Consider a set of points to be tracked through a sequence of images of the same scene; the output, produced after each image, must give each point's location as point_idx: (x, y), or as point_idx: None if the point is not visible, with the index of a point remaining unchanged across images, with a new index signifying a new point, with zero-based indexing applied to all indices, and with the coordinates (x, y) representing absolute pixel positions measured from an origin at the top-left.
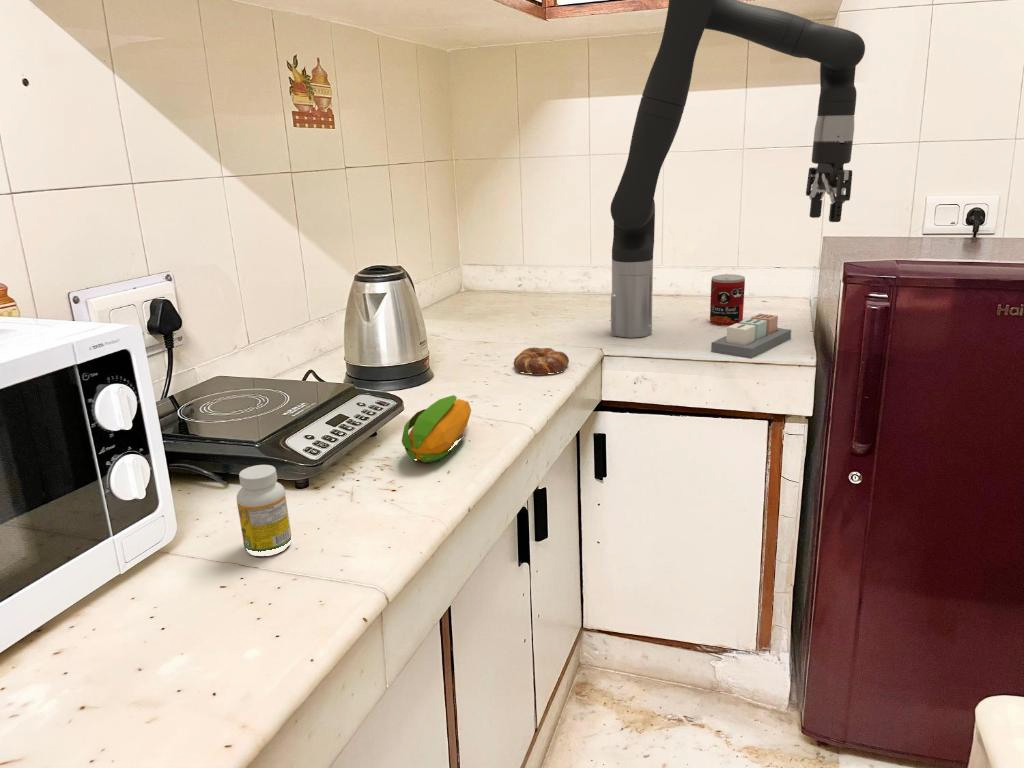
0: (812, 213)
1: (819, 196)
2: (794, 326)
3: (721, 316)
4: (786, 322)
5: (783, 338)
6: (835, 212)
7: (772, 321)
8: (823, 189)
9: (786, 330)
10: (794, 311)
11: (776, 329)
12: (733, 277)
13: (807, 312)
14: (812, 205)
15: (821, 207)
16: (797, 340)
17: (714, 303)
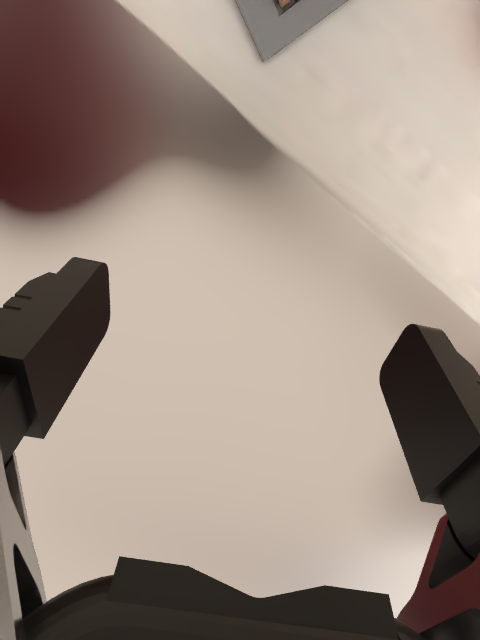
0: (418, 347)
1: (462, 527)
2: (363, 168)
3: None
4: (408, 178)
5: (236, 2)
6: (6, 310)
7: None
8: (291, 599)
9: (262, 38)
10: (473, 269)
11: (279, 2)
12: None
13: (443, 286)
14: (454, 397)
15: (398, 436)
16: (239, 69)
17: None
